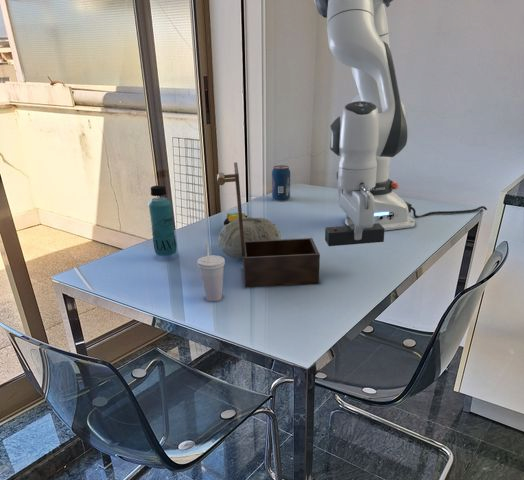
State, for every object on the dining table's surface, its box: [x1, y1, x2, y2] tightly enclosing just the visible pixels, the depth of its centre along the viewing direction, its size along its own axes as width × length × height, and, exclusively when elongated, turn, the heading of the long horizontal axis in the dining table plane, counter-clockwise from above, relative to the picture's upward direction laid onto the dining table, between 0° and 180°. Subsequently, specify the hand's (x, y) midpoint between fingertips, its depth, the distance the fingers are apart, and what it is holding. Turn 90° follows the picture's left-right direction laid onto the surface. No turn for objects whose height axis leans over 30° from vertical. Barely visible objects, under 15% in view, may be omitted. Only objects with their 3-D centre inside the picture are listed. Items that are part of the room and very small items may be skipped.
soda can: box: [271, 164, 291, 202], centre depth 191 cm, size 7×7×12 cm
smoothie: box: [197, 241, 226, 302], centre depth 117 cm, size 6×6×14 cm
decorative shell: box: [217, 216, 281, 260], centre depth 142 cm, size 18×18×10 cm
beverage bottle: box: [147, 184, 178, 257], centre depth 140 cm, size 6×7×20 cm
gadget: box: [223, 211, 248, 226], centre depth 163 cm, size 6×13×6 cm, turn 174°
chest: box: [242, 237, 321, 289], centre depth 129 cm, size 19×12×8 cm, turn 94°
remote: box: [324, 223, 386, 247], centre depth 126 cm, size 14×5×4 cm, turn 96°
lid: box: [216, 161, 245, 257], centre depth 121 cm, size 19×12×5 cm
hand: (354, 235), depth 127 cm, fingers closed on remote, 4 cm apart
